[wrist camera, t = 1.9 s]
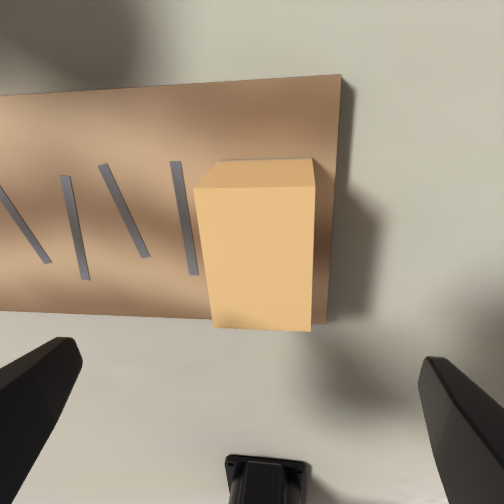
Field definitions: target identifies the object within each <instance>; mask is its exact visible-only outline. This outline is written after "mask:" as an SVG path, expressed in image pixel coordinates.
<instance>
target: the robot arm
mask: <svg viewBox="0 0 504 504" xmlns="http://www.w3.org/2000/svg"><path fill="white" fill-rule="evenodd" d="M82 364H83V360H82V356H81V354H80V352H79V349H78V347H77V344H76V342H75V340H74V339H73V338H71V337H56V338H54V339H52V340H51V341H49V342H47V343H45V344H43V345H42V346H40V347H38V348H36V349H34V350H33V351H31V352H29V353H27V354H26V355H24V356H22V357H20V358H18V359H17V360H15V361H13V362H11V363H9V364H8V365H6V366H4V367H2V368H1V369H0V504H12V502H13V500H14V498H15V497H16V495H17V493H18V491H19V489H20V488H21V486H22V484H23V482H24V481H25V479H26V477H27V475H28V473H29V472H30V470H31V468H32V466H33V465H34V463H35V461H36V459H37V457H38V456H39V454H40V452H41V450H42V449H43V447H44V445H45V443H46V441H47V440H48V438H49V436H50V434H51V433H52V431H53V429H54V427H55V425H56V423H57V421H58V419H59V417H60V415H61V413H62V411H63V408H64V406H65V404H66V402H67V400H68V397H69V395H70V393H71V391H72V388H73V386H74V384H75V382H76V380H77V377H78V375H79V373H80V371H81V368H82ZM418 389H419V394H420V398H421V403H422V407H423V412H424V416H425V421H426V425H427V430H428V434H429V439H430V443H431V448H432V452H433V456H434V459H435V462H436V466H437V469H438V472H439V475H440V478H441V481H442V484H443V487H444V490H445V493H446V496H447V499H448V502H449V504H504V408H503V407H502V406H501V405H500V404H498V403H497V402H496V401H495V400H494V399H493V398H492V397H490V396H489V395H488V394H487V393H486V392H485V391H483V390H482V389H481V388H480V387H479V386H478V385H477V384H475V383H474V382H473V381H472V380H471V379H470V378H468V377H467V376H466V375H465V374H464V373H463V372H461V371H460V370H459V369H458V368H457V367H456V366H455V365H453V364H452V363H451V362H450V361H449V360H447V359H446V358H444V357H433V356H428V357H425V359H424V361H423V364H422V368H421V372H420V376H419V380H418ZM225 469H226V474H227V480H228V486H229V492H230V498H229V504H305V503H306V474H307V467H306V465H305V464H303V463H298V462H288V461H278V460H268V459H258V458H248V457H238V456H227V457H226V460H225Z"/></svg>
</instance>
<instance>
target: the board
mask: <svg viewBox="0 0 504 504" xmlns="http://www.w3.org/2000/svg"><path fill="white" fill-rule="evenodd" d="M340 90H341V75H340V74H336V75H320V76H305V77H289V78H273V79H257V80H242V81H226V82H210V83H194V84H178V85H163V86H147V87H131V88H115V89H99V90H84V91H68V92H52V93H36V94H20V95H5V96H0V311H17V312H41V313H66V314H90V315H114V316H139V317H163V318H187V319H212V314H211V307H210V301H209V294H208V287H207V280H206V274H205V267H204V260H203V253H202V246H201V240H200V233H199V226H198V219H197V213H196V206H195V199H194V192H193V188H194V187H195V186H196V185H197V184H198V182H199V181H200V180H201V179H202V178H203V177H204V176H205V175H206V174H207V173H208V171H209V170H210V169H211V168H212V167H213V166H214V165H215V164H216V163H217V162H218V160H232V159H267V158H301V157H312V162H313V170H314V179H315V213H314V243H313V273H312V303H311V324H326V318H327V302H328V285H329V269H330V253H331V237H332V220H333V204H334V188H335V172H336V155H337V139H338V123H339V107H340Z"/></svg>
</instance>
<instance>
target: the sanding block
mask: <svg viewBox="0 0 504 504" xmlns="http://www.w3.org/2000/svg"><path fill="white" fill-rule="evenodd" d="M193 192H194V199H195V206H196V213H197V219H198V226H199V233H200V240H201V246H202V253H203V260H204V267H205V274H206V280H207V287H208V294H209V301H210V307H211V314H212V321H213V328H235V329H257V330H280V331H302V332H311V303H312V273H313V243H314V213H315V179H314V170H313V162H312V157H301V158H267V159H232V160H218V162H217V163H216V164H215V165H214V166H213V167H212V168H211V169H210V170H209V171H208V173H207V174H206V175H205V176H204V177H203V178H202V179H201V180H200V181H199V182H198V184H197V185H196V186H195V187H194V188H193Z"/></svg>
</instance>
